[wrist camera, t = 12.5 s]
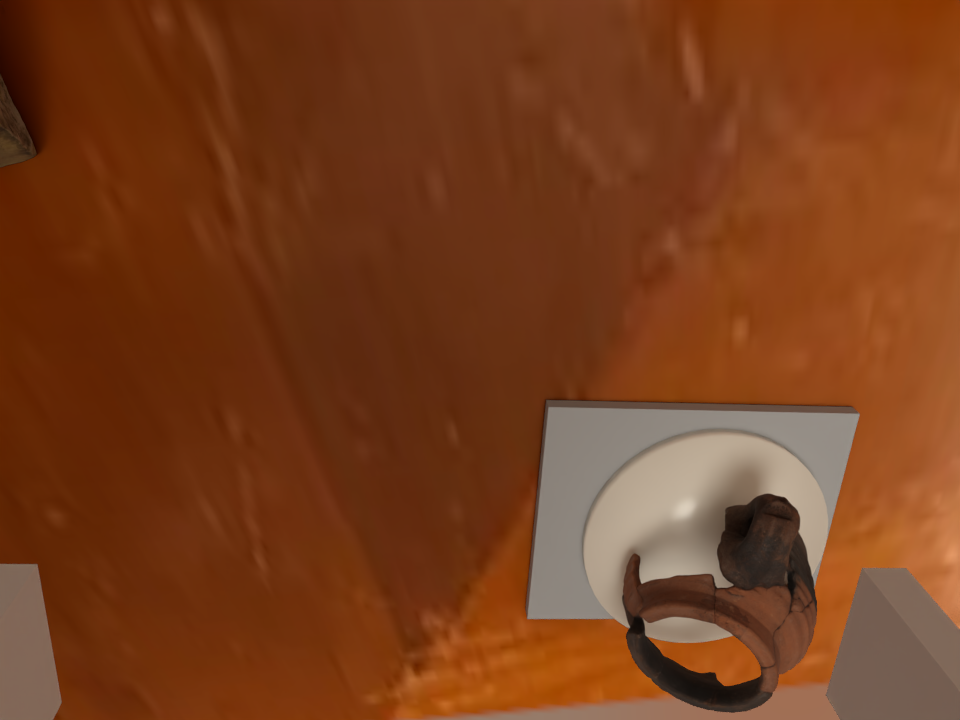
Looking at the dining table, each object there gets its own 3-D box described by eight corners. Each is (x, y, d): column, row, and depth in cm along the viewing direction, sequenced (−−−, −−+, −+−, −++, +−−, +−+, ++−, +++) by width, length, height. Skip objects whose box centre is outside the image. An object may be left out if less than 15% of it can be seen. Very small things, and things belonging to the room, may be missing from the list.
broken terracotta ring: (794, 624, 47) (772, 753, 41) (633, 562, 50) (590, 674, 44) (871, 474, 40) (858, 603, 34) (677, 410, 43) (633, 519, 37)
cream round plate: (570, 633, 47) (572, 643, 46) (596, 426, 42) (599, 433, 41) (794, 632, 48) (800, 642, 47) (845, 431, 43) (853, 438, 42)
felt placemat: (525, 609, 47) (527, 618, 46) (546, 399, 42) (548, 407, 41) (800, 609, 48) (806, 618, 48) (852, 406, 43) (859, 413, 43)
